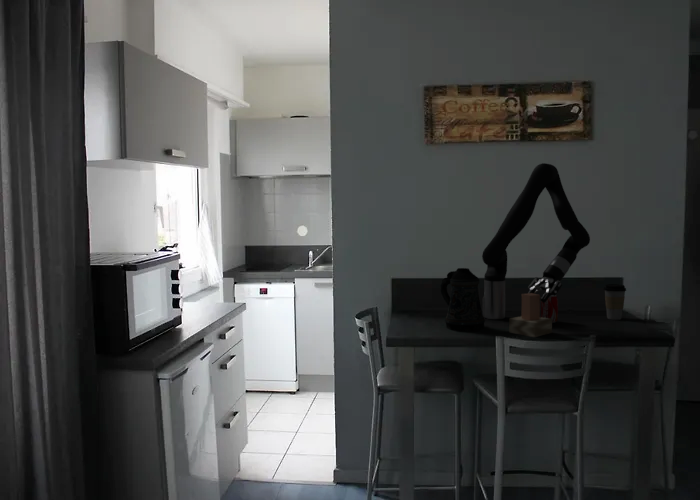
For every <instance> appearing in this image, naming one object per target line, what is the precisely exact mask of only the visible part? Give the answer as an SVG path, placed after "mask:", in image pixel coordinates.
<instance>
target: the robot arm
mask: <svg viewBox="0 0 700 500" xmlns="http://www.w3.org/2000/svg"><path fill="white" fill-rule="evenodd" d="M544 189H545V190H547V193H548V194H549V196H550V199H551V203H552V205H553V209H554V212H555V213H554V214H555V215H556V217H557V220H558V222H559V224H560V226H561V228H562V229H563V230H565V231H568V232H569V233H570V236H569V237H568V238H567V239H566V240H565V243H564V244H563V246H562V248H561V249H560V251H559V252H558V253H557V254H556V256H555V257H554V258H553V259H552V260H551V261H550V263H549V264H548V265H547V267H546V268H545V270H544V271H543V272H542V277H541V278H539V277H538V276H536V277H535V278H534V279H533V280H532V281H531V283H530V284H529V285H528V286H527V288H528V289H529V291H528V292H527V293H534V294H536V293H537V292H541V291H545V292H544V295H543V294H542V296H540V302H541V301H542V302H543V303H545V302H546V301H547V299H548V298H549V297H550V296H552V295H554V296H555V295H557V294H558V293H559V291H560V290H561V288H562V286H563V284H562V283H561V282H562V280H563V278H564V277H565V276H566V275H567V273H568V271H569V269H571V266H572V265H573V264H574V262H575V261H576V259H577V256H578V254H579V252H580V251H581V250H582V249H585V247H587V246H589V244H590V242H591V235H590V234H589V232H588V231H587V230H586V228H585V227H584V226H583V224H582V223H581V222H580V221H579V219H578V217H577V215H576V212H575V210H574V209H573V207H572V205H571V202H570V201H569V198H568V197H567V195H566V192H565V188H564V187H563V184H562V181H561V177H560V174H559V170H558V169H557V167H556V166H554V165H553V164H550V163H543V162H542V163H539V164H538V165H536V166H535V167H534V169H533V170H532V172H531V174H530V176H529V178H528V180H527V182H526V184H525V186H524V188H523V190H522V191H521V193H520V194H519V195H518V197H517V199H516V200H515V202H513V205H512V206H511V208H510V209H509V210H508V212H507V214H506V216H505V218H504V219H503V221H502V223H501V225H500V227H499V228H498V229H497V232H496V234H495V235H494V237H493V238H492V239H491V241H489V243H488V244H487V246H486V247H485V248H484V250H483V252H482V255H481V257H482V261H483V263H484V264H485V265H487V267H486V271H485V273H484V278H483V279H484V280H483V281H484V284H483V285H484V291H483V292H484V295H483V297H482V314H483V317H484V319H487V320H503V319H505V318H506V276H507V272H508V252H507V249H508V246H509V245H510V244H511V242H512V241H513V240H514V239H515V238H516V237H517V236H518V235H519V234H520V233H521V232H522V231H523V230H524V228H525V227H526V226H527V224H528V222H529V221H530V219H531V217H532V216H533V213H534V211H535V208H536V204H537V202H538V199H539V197H540V195H541V193H543V191H544Z"/></svg>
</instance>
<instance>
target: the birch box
mask: <svg viewBox="0 0 700 500" xmlns="http://www.w3.org/2000/svg"><path fill="white" fill-rule="evenodd" d="M508 320H509V321H508V324H509V325H508V332H509V333H511V334H516V335H521V336H526V337H531V338H537V337H540V336H546V335H548V334H553V323H552V319H549V318H543V317H541V316H540V319H538V320H526V319H522V315H520V316H519V315H518V316H515V317H510V318H509V319H508Z"/></svg>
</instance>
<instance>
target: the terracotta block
mask: <svg viewBox="0 0 700 500" xmlns="http://www.w3.org/2000/svg"><path fill="white" fill-rule="evenodd" d="M540 299H541V295H540V294H537V293H535V294H534V293H528V292H527V293H521V316H522V319H526V320H538V319H540V317H541V300H540Z"/></svg>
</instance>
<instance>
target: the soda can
mask: <svg viewBox="0 0 700 500" xmlns="http://www.w3.org/2000/svg"><path fill="white" fill-rule="evenodd" d="M543 295H544V294H542V296H543ZM540 317H543V318H549V319H552V324H555V323H556V322H558V318H559V299H558V296H557V294H556V295H555V296H554V295H552V296H550V297H549V298H548V299H547V301H546V302H545V303H543V302H542V301H541V300H540Z"/></svg>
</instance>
